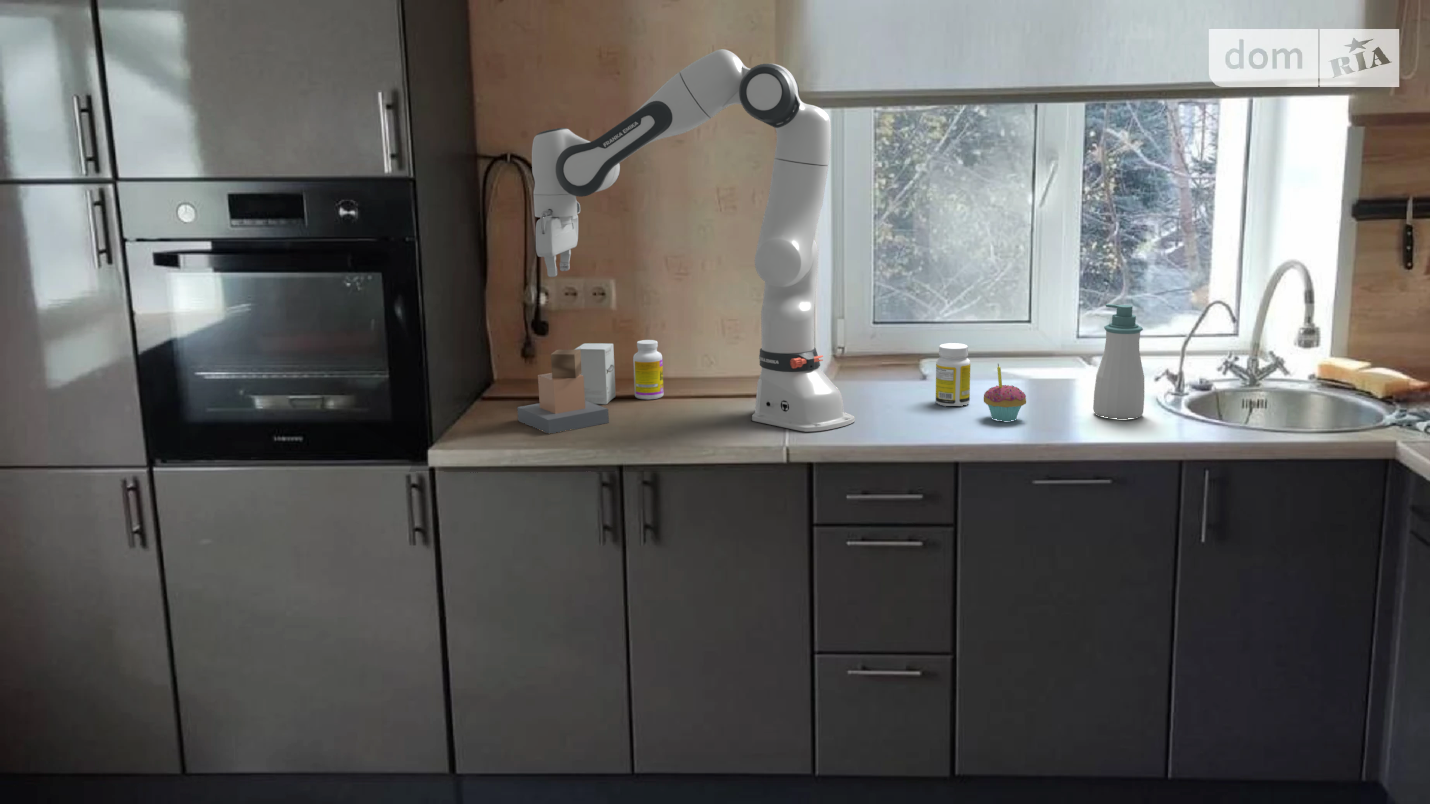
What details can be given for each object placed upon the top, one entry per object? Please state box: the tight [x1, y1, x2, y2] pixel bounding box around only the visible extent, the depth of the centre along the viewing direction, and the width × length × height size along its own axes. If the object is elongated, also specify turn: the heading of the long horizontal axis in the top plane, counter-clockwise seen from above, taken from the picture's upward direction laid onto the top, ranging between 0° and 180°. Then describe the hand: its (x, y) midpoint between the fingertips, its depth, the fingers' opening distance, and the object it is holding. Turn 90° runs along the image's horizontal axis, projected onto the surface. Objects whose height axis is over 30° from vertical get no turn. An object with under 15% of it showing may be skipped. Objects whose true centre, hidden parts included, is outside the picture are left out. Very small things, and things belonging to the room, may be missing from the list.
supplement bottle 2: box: [935, 342, 971, 407], centre depth 247 cm, size 7×7×13 cm
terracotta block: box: [537, 372, 585, 414], centre depth 239 cm, size 7×7×7 cm
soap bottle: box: [1092, 303, 1145, 419], centre depth 233 cm, size 10×10×23 cm
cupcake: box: [983, 363, 1027, 421], centre depth 234 cm, size 9×8×12 cm
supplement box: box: [573, 342, 616, 405], centre depth 257 cm, size 7×7×13 cm
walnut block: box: [550, 349, 582, 378], centre depth 238 cm, size 5×5×5 cm
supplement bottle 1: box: [632, 339, 665, 401], centre depth 260 cm, size 7×7×13 cm
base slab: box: [517, 401, 610, 434], centre depth 241 cm, size 14×14×3 cm
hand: (558, 273), depth 243 cm, fingers open, 8 cm apart
